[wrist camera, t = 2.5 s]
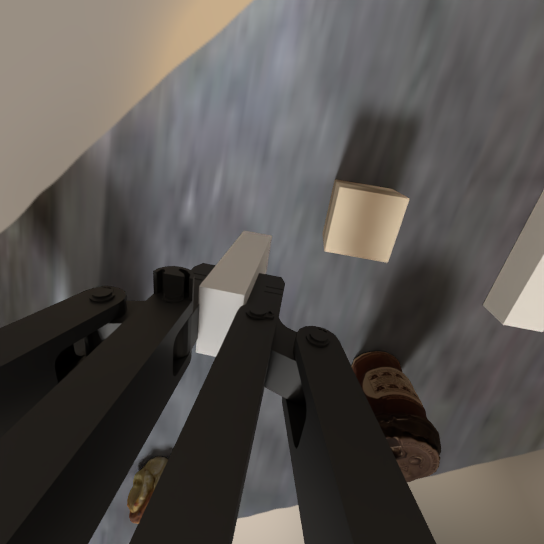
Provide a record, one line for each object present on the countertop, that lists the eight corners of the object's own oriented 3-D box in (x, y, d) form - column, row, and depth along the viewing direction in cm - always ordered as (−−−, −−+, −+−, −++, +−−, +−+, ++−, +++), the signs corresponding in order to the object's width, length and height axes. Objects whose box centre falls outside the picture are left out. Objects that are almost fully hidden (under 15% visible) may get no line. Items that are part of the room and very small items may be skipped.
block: (322, 233, 33) (324, 251, 28) (334, 179, 31) (339, 187, 25) (375, 242, 33) (387, 262, 27) (392, 188, 30) (409, 198, 25)
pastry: (138, 448, 54) (111, 496, 47) (203, 465, 53) (186, 515, 46) (139, 492, 60) (115, 540, 53) (197, 507, 59) (181, 558, 52)
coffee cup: (351, 335, 38) (369, 422, 26) (416, 347, 37) (464, 440, 26) (337, 385, 42) (347, 481, 30) (396, 396, 41) (430, 498, 29)
